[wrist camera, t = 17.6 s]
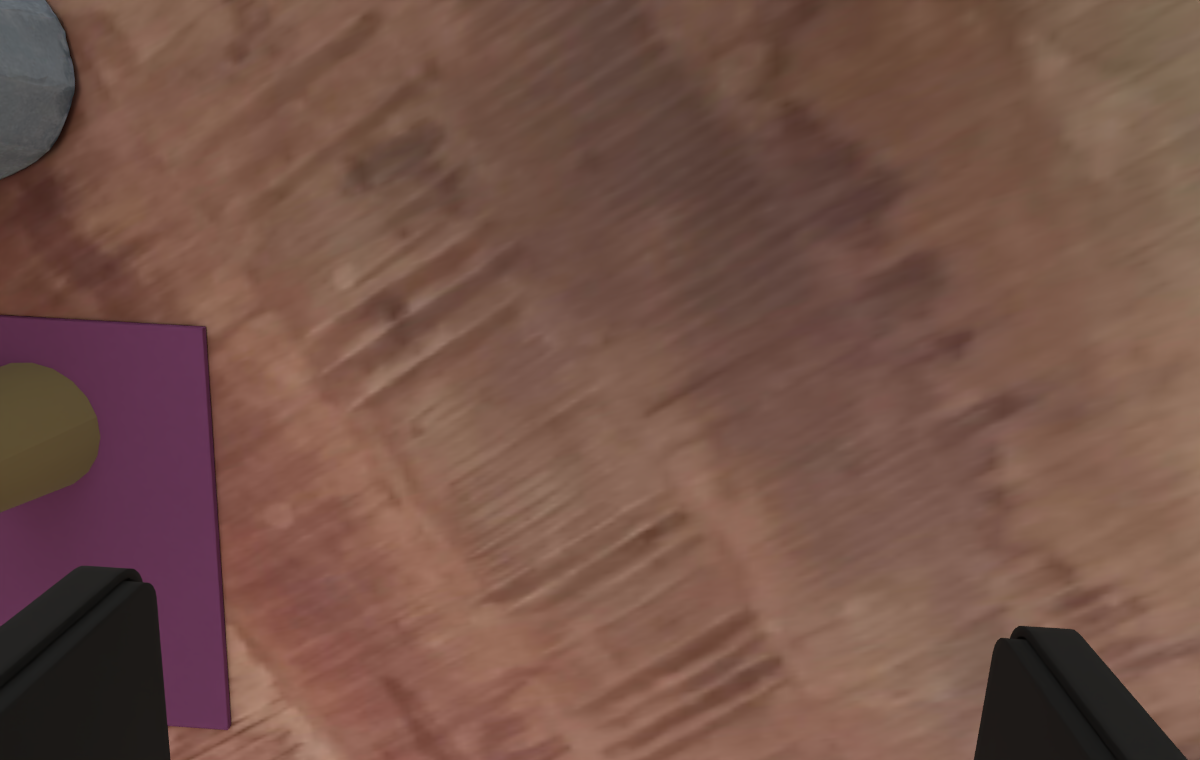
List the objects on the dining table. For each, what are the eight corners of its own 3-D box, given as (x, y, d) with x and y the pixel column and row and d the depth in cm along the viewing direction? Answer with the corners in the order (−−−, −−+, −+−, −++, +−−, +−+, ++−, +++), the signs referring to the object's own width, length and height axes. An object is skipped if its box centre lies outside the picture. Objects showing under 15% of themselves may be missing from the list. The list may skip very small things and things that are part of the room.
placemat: (-152, 306, 41) (-160, 308, 41) (206, 326, 41) (202, 328, 41) (-87, 703, 47) (-93, 708, 46) (231, 725, 46) (228, 730, 46)
